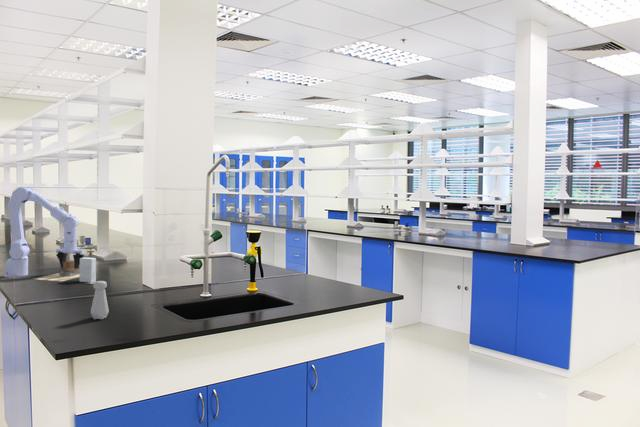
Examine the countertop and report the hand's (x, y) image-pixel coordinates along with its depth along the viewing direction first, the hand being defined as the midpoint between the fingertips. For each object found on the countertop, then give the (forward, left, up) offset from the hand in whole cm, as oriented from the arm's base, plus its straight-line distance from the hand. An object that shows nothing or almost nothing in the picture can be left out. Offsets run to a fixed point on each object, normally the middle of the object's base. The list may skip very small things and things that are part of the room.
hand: (69, 267), depth 250 cm
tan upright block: (0, -1, -3) cm, 4 cm away
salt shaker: (+62, -65, -5) cm, 90 cm away
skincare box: (+18, -11, -5) cm, 22 cm away
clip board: (0, -5, -4) cm, 7 cm away
